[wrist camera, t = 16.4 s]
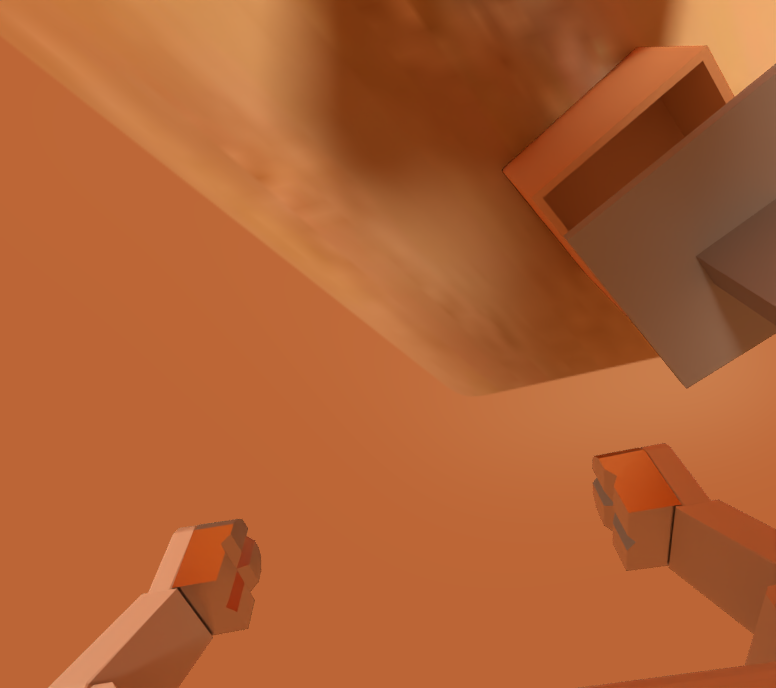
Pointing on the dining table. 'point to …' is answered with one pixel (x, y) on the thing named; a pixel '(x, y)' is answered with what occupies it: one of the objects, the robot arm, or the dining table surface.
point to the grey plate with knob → (697, 239)
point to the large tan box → (617, 134)
